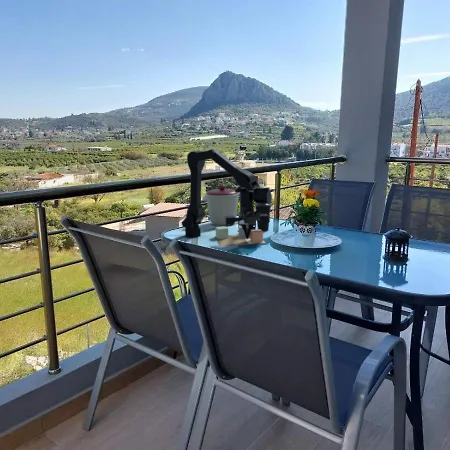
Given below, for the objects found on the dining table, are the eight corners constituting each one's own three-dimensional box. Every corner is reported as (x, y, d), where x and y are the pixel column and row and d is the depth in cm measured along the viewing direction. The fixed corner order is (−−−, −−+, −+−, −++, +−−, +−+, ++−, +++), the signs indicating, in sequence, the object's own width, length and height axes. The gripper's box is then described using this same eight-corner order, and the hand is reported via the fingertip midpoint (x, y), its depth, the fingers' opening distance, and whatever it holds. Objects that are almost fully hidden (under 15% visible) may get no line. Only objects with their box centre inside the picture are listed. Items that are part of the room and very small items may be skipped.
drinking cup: (272, 234, 190) (271, 191, 185) (255, 234, 190) (255, 192, 186) (270, 230, 197) (270, 189, 193) (254, 230, 197) (254, 190, 193)
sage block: (218, 239, 179) (218, 229, 178) (215, 236, 183) (215, 227, 182) (228, 238, 180) (228, 228, 179) (225, 235, 185) (225, 226, 184)
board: (219, 248, 168) (219, 246, 168) (214, 238, 185) (214, 236, 184) (266, 245, 171) (266, 243, 171) (257, 236, 187) (257, 233, 187)
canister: (243, 226, 207) (242, 185, 202) (207, 228, 205) (206, 187, 200) (237, 219, 225) (236, 181, 220) (204, 221, 222) (203, 183, 218)
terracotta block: (252, 242, 172) (252, 232, 171) (250, 239, 176) (250, 229, 175) (262, 241, 173) (262, 231, 172) (260, 239, 177) (260, 229, 176)
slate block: (239, 237, 181) (239, 227, 180) (238, 235, 185) (238, 225, 184) (249, 237, 181) (249, 227, 180) (248, 234, 185) (248, 225, 184)
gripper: (227, 207, 161) (228, 245, 165) (273, 205, 164) (273, 242, 167) (223, 202, 172) (224, 238, 175) (266, 200, 174) (266, 235, 178)
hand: (247, 238), depth 174 cm, fingers closed
